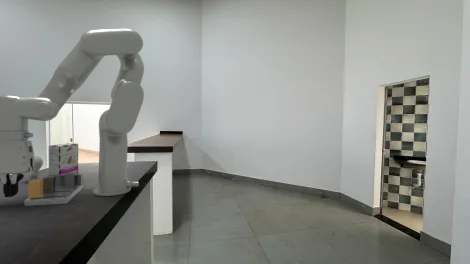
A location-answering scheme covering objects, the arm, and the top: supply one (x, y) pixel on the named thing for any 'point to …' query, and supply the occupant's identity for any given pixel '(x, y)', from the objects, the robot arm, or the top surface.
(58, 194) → the console
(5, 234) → the top surface
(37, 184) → the cap
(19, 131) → the robot arm
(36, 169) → the lightbulb
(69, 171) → the candy bar box
